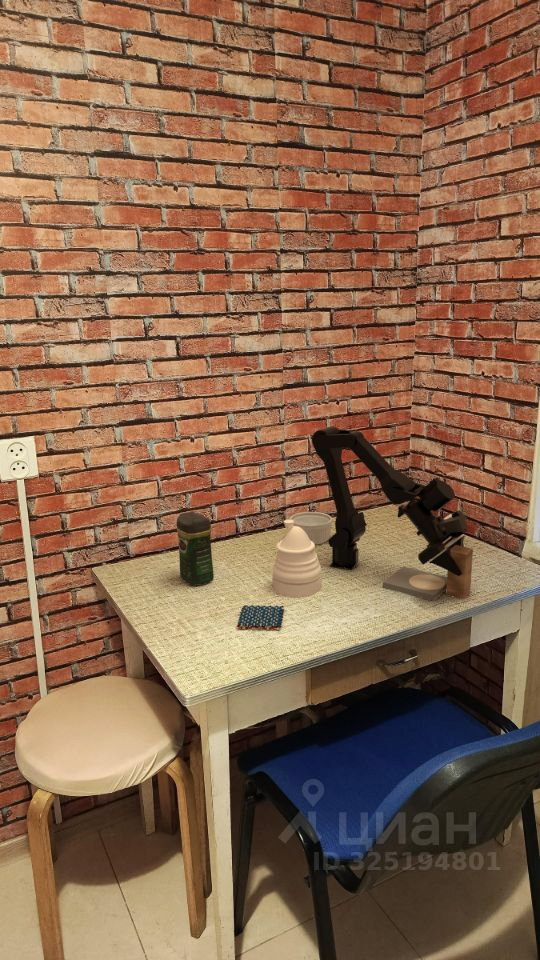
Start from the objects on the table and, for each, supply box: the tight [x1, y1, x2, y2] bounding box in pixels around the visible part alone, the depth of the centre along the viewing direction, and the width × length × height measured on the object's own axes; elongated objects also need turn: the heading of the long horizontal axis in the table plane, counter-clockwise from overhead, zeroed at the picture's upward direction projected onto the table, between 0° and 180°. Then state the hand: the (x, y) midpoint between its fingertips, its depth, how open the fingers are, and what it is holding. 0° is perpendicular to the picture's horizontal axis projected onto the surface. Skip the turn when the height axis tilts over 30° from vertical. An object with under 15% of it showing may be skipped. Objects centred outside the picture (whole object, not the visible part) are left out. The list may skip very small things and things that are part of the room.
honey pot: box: [271, 519, 323, 598], centre depth 167 cm, size 13×13×18 cm
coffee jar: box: [176, 510, 215, 586], centre depth 173 cm, size 10×8×19 cm
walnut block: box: [445, 545, 474, 600], centre depth 161 cm, size 4×4×12 cm
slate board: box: [382, 565, 447, 602], centre depth 168 cm, size 14×12×2 cm
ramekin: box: [289, 511, 333, 546], centre depth 201 cm, size 13×13×7 cm
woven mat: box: [236, 604, 285, 632], centre depth 152 cm, size 10×11×2 cm
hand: (465, 570), depth 160 cm, fingers open, 6 cm apart
